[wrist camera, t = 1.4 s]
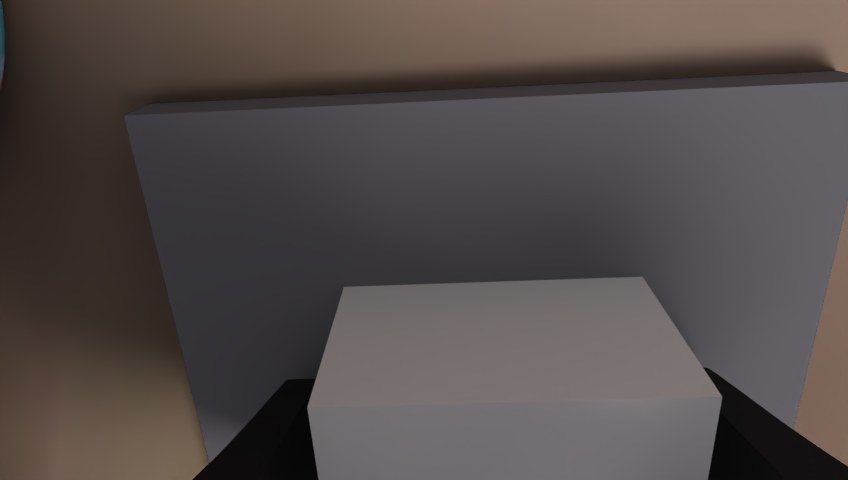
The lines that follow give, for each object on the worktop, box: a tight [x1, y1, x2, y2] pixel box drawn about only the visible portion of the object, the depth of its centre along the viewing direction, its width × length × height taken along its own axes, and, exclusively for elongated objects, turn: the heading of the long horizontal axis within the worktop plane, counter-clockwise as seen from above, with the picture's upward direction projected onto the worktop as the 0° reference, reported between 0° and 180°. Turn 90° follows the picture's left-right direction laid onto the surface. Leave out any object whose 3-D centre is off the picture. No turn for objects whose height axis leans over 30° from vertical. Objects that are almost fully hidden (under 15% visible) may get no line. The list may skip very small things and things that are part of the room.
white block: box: [307, 277, 722, 480], centre depth 11 cm, size 5×5×3 cm
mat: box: [124, 71, 848, 463], centre depth 13 cm, size 12×12×1 cm
